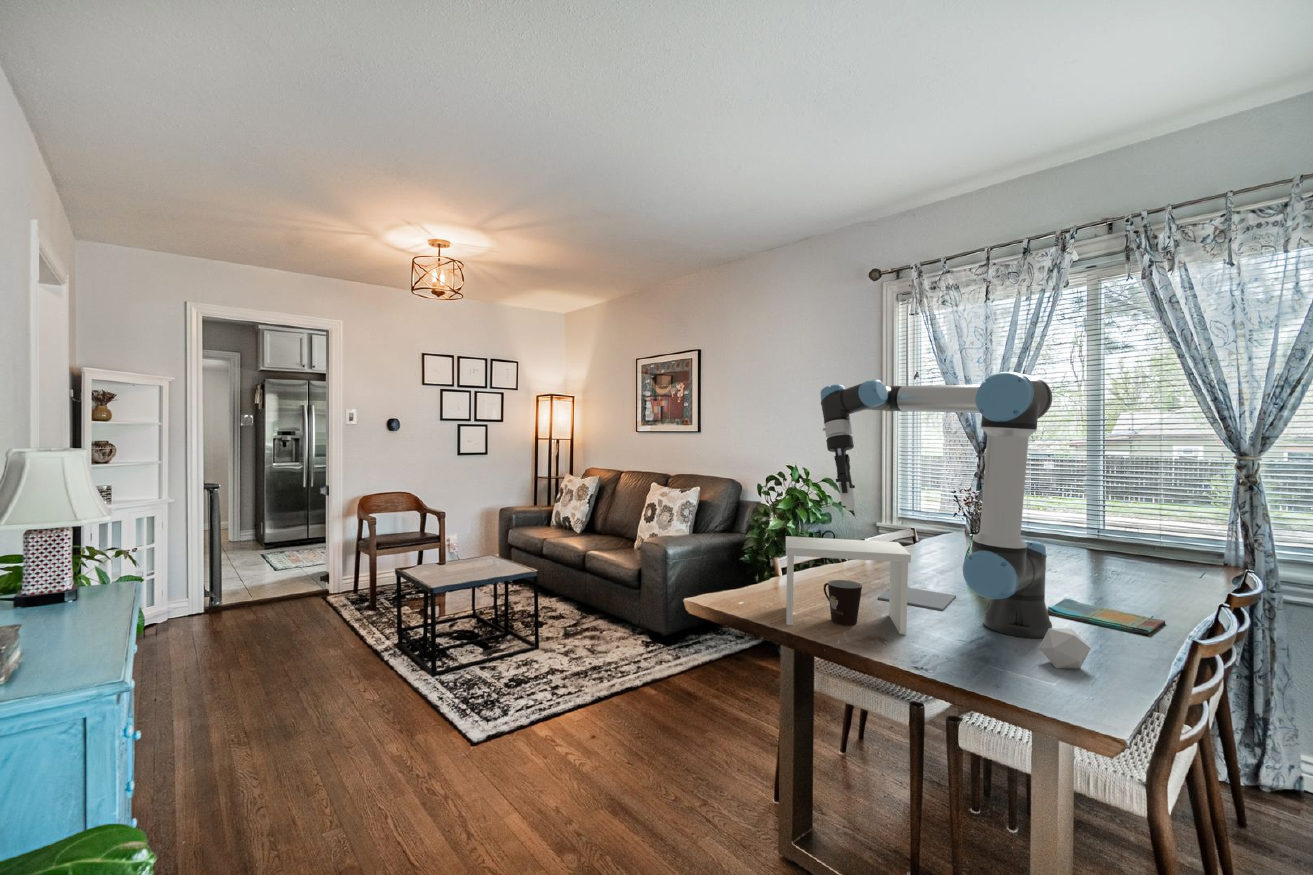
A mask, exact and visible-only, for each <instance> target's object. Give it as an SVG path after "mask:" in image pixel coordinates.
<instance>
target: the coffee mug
mask: <svg viewBox="0 0 1313 875" xmlns="http://www.w3.org/2000/svg"><path fill="white" fill-rule="evenodd" d="M827 588H828V592H827ZM862 589H863V585H862V583H860V582H856V581H853V580H849V579H848V580H847V579H846V580H845V579H834V580H833V579H832V580H829V581H827V582H826V583H824V584H823V593H824V595H825V597H826V599H827V600H828V602H829V609H830V610H829V611H830V620H831V623H833V624H836V625H839V626H845V627H850V626H851V627H852V626H856V625H857V624H858V616H859V611H860V610H859V609H860V604H861V603H860V602H861V597H862V596H861V595H862Z"/></svg>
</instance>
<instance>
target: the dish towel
mask: <svg viewBox="0 0 1313 875" xmlns="http://www.w3.org/2000/svg"><path fill="white" fill-rule="evenodd" d="M1047 612H1048V615H1049V616H1052V617H1055V618H1056V617H1057V618H1061V619H1068V620H1072V621H1078V622H1082V623H1087V624H1091V625H1096V626H1099V627H1103V628H1104V627H1105V628H1109V629H1114V630H1118V631H1123V632H1128V633H1132V634H1136V635H1142V636H1146V637H1150V636H1152V635H1153V634H1155V633H1156V632H1157V631H1159V630H1160V629H1162V628H1163V625H1164V626H1165V625H1167V624H1166V620H1164V619H1160V618H1159V619H1158V618H1152V617H1148V616H1144V615H1139V614H1136V613H1132V612H1131V613H1130V612H1124V611H1120V610H1118V609H1112V608H1108V607H1101V606H1095V605H1091V604H1087V603H1083V602H1079V601H1076V600H1073V599H1072V598H1067V597H1066V598H1063V599H1062V600H1060V601H1059V602H1058V603H1055V604H1054V605H1052V606H1048V607H1047Z"/></svg>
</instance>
